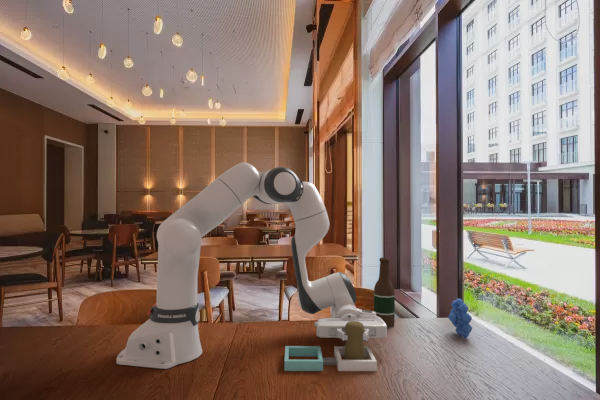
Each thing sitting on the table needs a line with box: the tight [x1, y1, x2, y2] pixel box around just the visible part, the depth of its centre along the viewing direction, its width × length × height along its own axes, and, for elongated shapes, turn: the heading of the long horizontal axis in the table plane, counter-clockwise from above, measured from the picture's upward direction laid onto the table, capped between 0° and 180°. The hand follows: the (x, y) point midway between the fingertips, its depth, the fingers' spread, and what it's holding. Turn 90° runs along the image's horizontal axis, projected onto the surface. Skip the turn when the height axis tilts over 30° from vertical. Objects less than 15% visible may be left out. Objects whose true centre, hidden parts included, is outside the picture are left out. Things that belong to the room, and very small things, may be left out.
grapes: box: [447, 297, 473, 339], centre depth 121 cm, size 12×7×12 cm, turn 2°
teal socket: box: [283, 345, 324, 372], centre depth 99 cm, size 10×10×2 cm
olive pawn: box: [343, 321, 366, 360], centre depth 99 cm, size 6×6×11 cm
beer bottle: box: [373, 257, 396, 329], centre depth 132 cm, size 8×8×24 cm
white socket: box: [322, 345, 378, 372], centre depth 99 cm, size 14×10×2 cm
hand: (355, 338), depth 98 cm, fingers closed on olive pawn, 4 cm apart
